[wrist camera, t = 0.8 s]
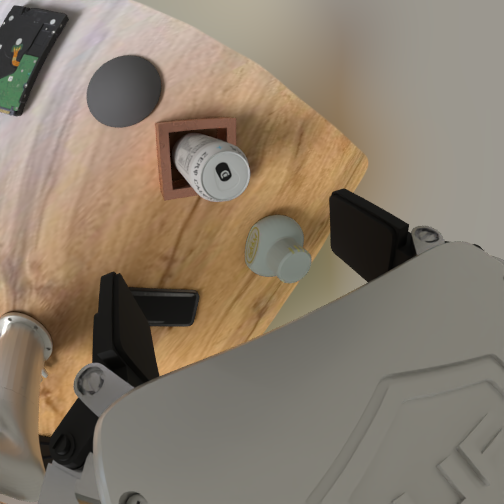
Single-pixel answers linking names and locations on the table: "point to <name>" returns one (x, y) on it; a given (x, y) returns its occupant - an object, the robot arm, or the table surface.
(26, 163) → the table surface
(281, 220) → the air freshener
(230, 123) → the collar
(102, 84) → the mat
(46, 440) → the magazine
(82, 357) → the table surface
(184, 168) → the energy drink can
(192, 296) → the phone
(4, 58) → the disk drive
